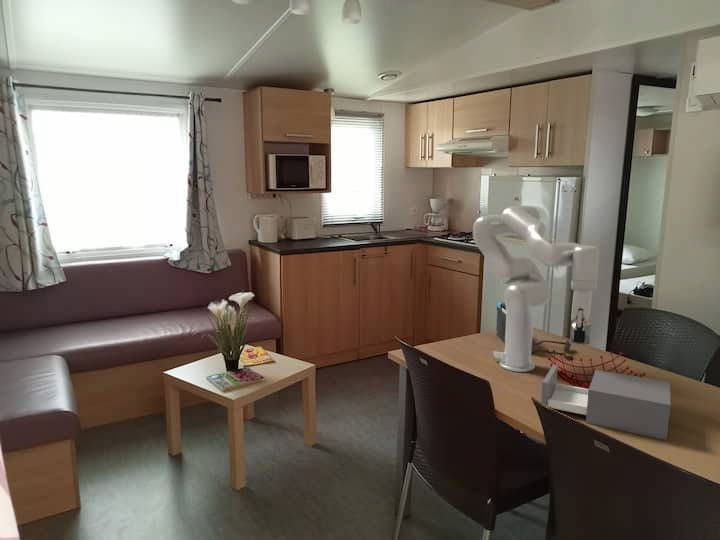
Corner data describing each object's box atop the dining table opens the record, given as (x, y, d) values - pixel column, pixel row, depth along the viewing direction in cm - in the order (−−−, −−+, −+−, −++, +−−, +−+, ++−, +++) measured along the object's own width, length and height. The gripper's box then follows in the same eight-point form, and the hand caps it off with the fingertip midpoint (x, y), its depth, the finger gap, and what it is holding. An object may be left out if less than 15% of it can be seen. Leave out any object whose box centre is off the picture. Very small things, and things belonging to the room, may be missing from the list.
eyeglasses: (564, 361, 200) (565, 349, 199) (525, 354, 208) (525, 342, 207) (570, 350, 213) (571, 338, 212) (533, 344, 220) (533, 333, 219)
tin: (569, 342, 167) (570, 324, 166) (571, 337, 172) (572, 319, 171) (589, 345, 164) (590, 326, 163) (590, 340, 170) (592, 322, 169)
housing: (585, 422, 149) (588, 389, 148) (593, 399, 165) (595, 369, 163) (666, 440, 140) (670, 405, 138) (666, 413, 155) (669, 382, 153)
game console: (493, 332, 236) (494, 300, 234) (507, 332, 237) (508, 300, 234) (513, 352, 209) (515, 317, 206) (529, 352, 209) (531, 317, 206)
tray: (540, 409, 156) (542, 382, 154) (551, 389, 170) (553, 364, 169) (609, 423, 147) (611, 395, 145) (614, 401, 161) (616, 375, 160)
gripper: (574, 279, 175) (570, 331, 178) (567, 288, 160) (564, 345, 163) (598, 281, 171) (594, 334, 174) (594, 290, 156) (590, 348, 159)
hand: (580, 339), depth 168 cm, fingers closed on tin, 6 cm apart
